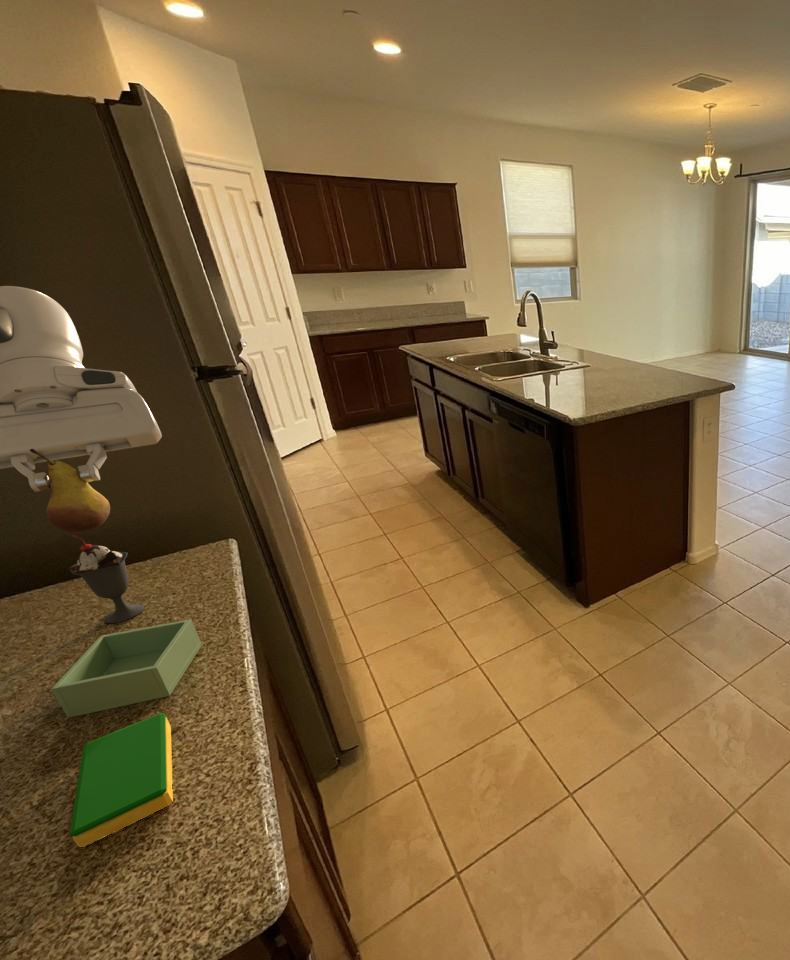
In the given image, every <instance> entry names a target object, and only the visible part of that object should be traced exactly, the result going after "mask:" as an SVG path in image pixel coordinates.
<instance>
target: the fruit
mask: <svg viewBox="0 0 790 960" xmlns="http://www.w3.org/2000/svg"><path fill="white" fill-rule="evenodd" d="M30 451H31V452H32V453H34V454H37V455H39V456H40V457H42V458H44V459H45V460H47V462H48V464H47V469H48V476H49V479H50V484H51V489H50V492H51V493H50V497H49V501H48V504H47V506H46V517H47V520H48V521H49V523H50V524H52V525H53V526H54V527H55V528H56V529H59V530H60V531H63V532H65V533H71V534H72V533H82V532H88V531H92V530H94V529H97V528H99V527H100V526H102V525H103V524H104V523H105V522H106V521H107V519H108V517H109V516H110V513H111V504H110V502H109V500H108V499H107V498H106V497H105V496H104V495H103V494H101V493H100V492H98V491H97V490H96V489H94V488H93V487H92V486H91V484H90V483H89V482H84V480H82V479H81V477H80V475H79V473H80V472H79V471H77V469H75V468H74V467H73V466H71V465H70V464H68V463H66V462H63V461H60V460H53V461H51V460H49V459H48V458H46V457H44V456H43V455H42V454H40V453H39V452H37V451H36V450H34V449H30Z"/></svg>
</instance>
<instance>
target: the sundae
mask: <svg viewBox="0 0 790 960" xmlns="http://www.w3.org/2000/svg"><path fill="white" fill-rule="evenodd" d="M70 536H71V538H74V539H76V540H77V539H78V540H80V541H81V542H82V544H83V545H81V547H79V551H80V552H81V553H80V554H79V556H78V557H77V561H76V563H75V564H73V565H72V566H70V567H69V568H68V571H69V572H70V573H72V575H74V576H80V578H82V580H83V581H84V582H85V583H86V585H87V586H88V587H89V589H90V590H91V591H92V592H93V593H94V594H95V595H96V597H98V598H102V599H109V600H111V601H113V603H114V607H115V609H114V610H113V611H111V612H109V613H108V614H107V615H106V616H105V617H104V620H103V621H104V622H105V623H106V624H117V623H122V622H126V621H128V620H131V619H133V618H135V617H136V616H139V615H140V614H141V613H142V612H144V610H145V605H144V604H141V603H134V604H127V602H125V600H124V597H123V595H124V594H125V592H126V591H127V590H128V589H129V587H130V580H129V574H128V570H127V566H126V562H125V561H126V558H127V557H128V554H129V553H128V552H126V551H115V550H110V549H109V548H108V547H107V546H103V545H100V544H99V545H98V544H90V543H86V542H85V540H83V539H82V538H81V537H79V536H77V535H76V534H71V535H70Z"/></svg>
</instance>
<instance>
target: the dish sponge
mask: <svg viewBox="0 0 790 960" xmlns="http://www.w3.org/2000/svg"><path fill="white" fill-rule="evenodd" d="M172 754H173V753H172V726H171V723H170V722H169V719H168V717H167V716H166V713H165V712H159V713H157V714H155V715H152V716H150V717H148V718H145V719H142V720H140V721H138V722H135V723H132V724H130V725H127V726H125V727H123V728H120V729H118V730H115V731H114V732H110V733H108V734H105V735H103V736H101V737H98V738H95V739H93V740H91V741H88V742H87V743H85V744H84V745H83V746H82V753H81V759H80V765H79V772H78V777H77V778H78V779H77V785H76V791H75V797H74V802H73V810H72V817H71V823H70V824H71V825H70V830H69V835H70V837H72V840H73V841H74V842H75V844H76V845H77V847H78V846H79V847H82V846H83V847H84V846H86V845H88V844H89V843H92V842H93V841H95V840H97V839H99V838H101V837H103V836H105V835H108V834H111V833H113V832H114V831H117V830H119V829H121V828H123V827H126V826H129V825H131V824H132V823H135V822H136V821H138V820H140V819H141V818H144V817H146V816H148V815H150V814H153V813H154V812H156V811H158V810H159V809H162V808H164V807H167V806H169V805H170V804H171V803H172V802H173V803H174V790H173V789H172V784H173V757H172V756H173V755H172ZM173 803H172V804H173ZM172 804H171V805H172ZM171 805H170V806H171ZM170 806H169V807H170ZM167 808H168V807H167ZM153 815H154V814H153ZM135 824H136V823H135ZM131 826H132V825H131ZM129 827H130V826H129ZM79 847H78V848H79Z"/></svg>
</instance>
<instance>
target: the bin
mask: <svg viewBox="0 0 790 960" xmlns="http://www.w3.org/2000/svg"><path fill="white" fill-rule="evenodd" d="M202 646H203V644H202V642H201V639H200V637H199V634H198V632H197V629H196V627H195V625H194V623H193V620H192V618H189V619H184V620H178V621H174V622H168V623H162V624H157V625H152V626H146V627H141V628H135V629H130V630H124V631H119V632H114V633H113V632H112V633H108V634H102V635H100V636H99V637H98V638H97V639H96V640H95V641H94V642H93V643H92V645H91V646H90V647H88V649H87V650H85V652H84V653H83V654H82V655H81V656H80V658H78V659H77V661H76V662H75V663H74V664H73V665H72V666H71V667H70V668H69V669H68V670H67V671H66V672H65V673H64V675H63V676H62V677H60V679H59V680H58V681H57V682H56V683H55V684H54V685H53V686H52V687H51V692H52V693H53V695H54V697H55V698H56V700H57V702H58V704H59V705H60V707H61V709H62V710H63V712H64V714H65V716H66V717H67V718H68V719H70V718H74V717H79V716H84V715H88V714H93V713H96V712H102V711H105V710H110V709H115V708H120V707H126V706H130V705H133V704H139V703H143V702H147V701H152V700H157V699H162V698H166V697H170V696H171V695H172V693H173V692H174V691H175V689H176V687H177V685H178V684H179V682H180V680H181V679H182V677H183V676H184V674H185V672H186V671H187V670H188V668H189V666H190V665H191V663H192V662H193V661H194V659H195V657H196V656H197V654H198V653H199V650H200V649H201V647H202Z"/></svg>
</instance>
